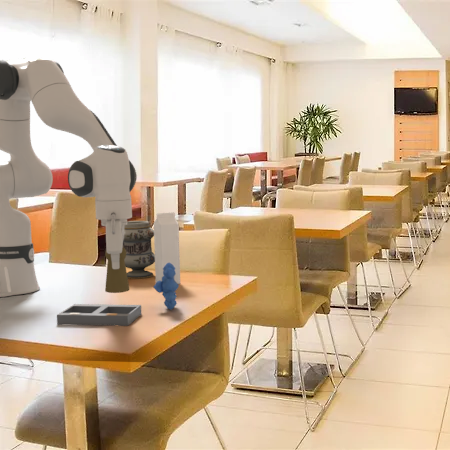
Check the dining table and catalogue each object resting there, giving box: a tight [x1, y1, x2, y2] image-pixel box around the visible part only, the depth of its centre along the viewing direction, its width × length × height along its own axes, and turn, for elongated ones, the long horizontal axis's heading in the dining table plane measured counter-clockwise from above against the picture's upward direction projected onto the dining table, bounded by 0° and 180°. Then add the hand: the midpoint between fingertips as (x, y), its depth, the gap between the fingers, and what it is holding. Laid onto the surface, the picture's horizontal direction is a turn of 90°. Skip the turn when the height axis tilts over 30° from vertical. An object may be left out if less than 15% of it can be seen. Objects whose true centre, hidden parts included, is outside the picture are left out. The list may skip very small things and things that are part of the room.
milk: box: [153, 212, 181, 285], centre depth 233 cm, size 6×6×22 cm
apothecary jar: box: [123, 220, 155, 280], centre depth 247 cm, size 12×12×18 cm
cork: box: [104, 247, 130, 294], centre depth 187 cm, size 6×6×11 cm
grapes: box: [153, 263, 180, 310], centre depth 199 cm, size 12×7×12 cm, turn 5°
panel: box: [56, 303, 143, 327], centre depth 189 cm, size 18×12×3 cm, turn 81°
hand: (116, 266), depth 186 cm, fingers closed on cork, 4 cm apart
